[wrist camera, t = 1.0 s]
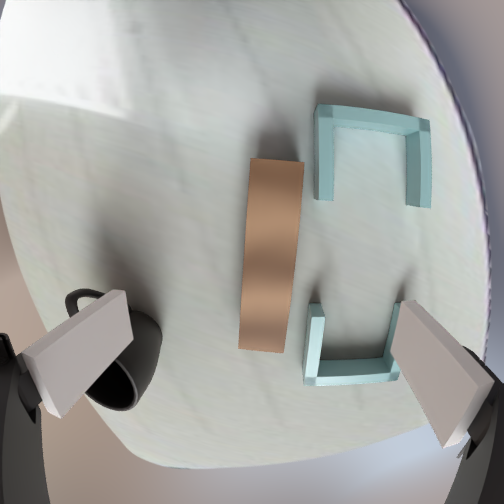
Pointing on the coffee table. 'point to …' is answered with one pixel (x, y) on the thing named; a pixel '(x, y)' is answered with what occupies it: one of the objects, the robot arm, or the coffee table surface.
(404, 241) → the coffee table surface
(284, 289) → the slat
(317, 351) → the cap
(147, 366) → the mug
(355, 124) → the teal staple arch
